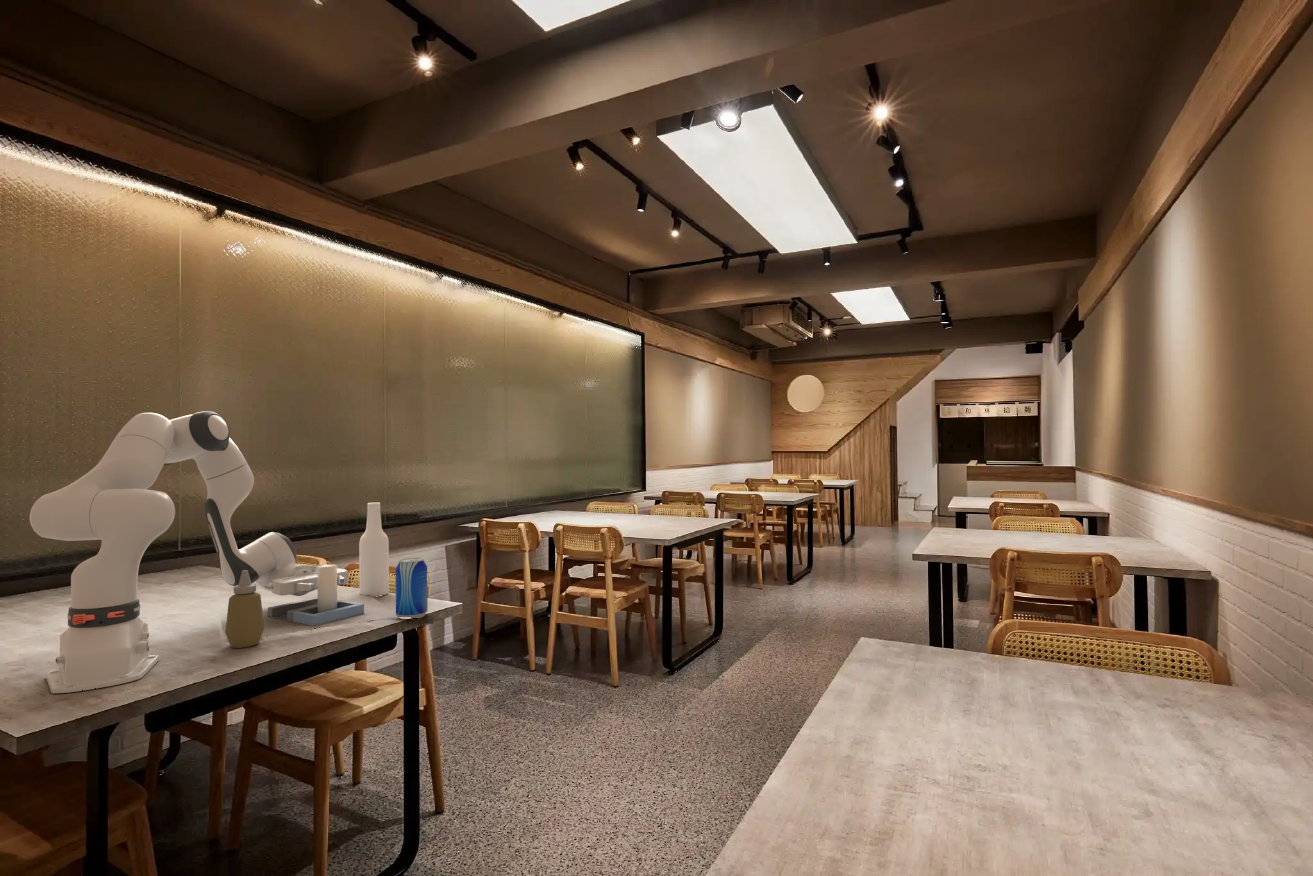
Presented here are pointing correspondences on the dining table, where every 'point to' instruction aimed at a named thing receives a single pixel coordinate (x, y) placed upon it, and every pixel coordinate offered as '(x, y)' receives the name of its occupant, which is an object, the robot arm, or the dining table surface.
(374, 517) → the alcohol
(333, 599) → the plug post
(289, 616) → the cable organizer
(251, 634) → the squeeze bottle
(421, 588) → the beer can
